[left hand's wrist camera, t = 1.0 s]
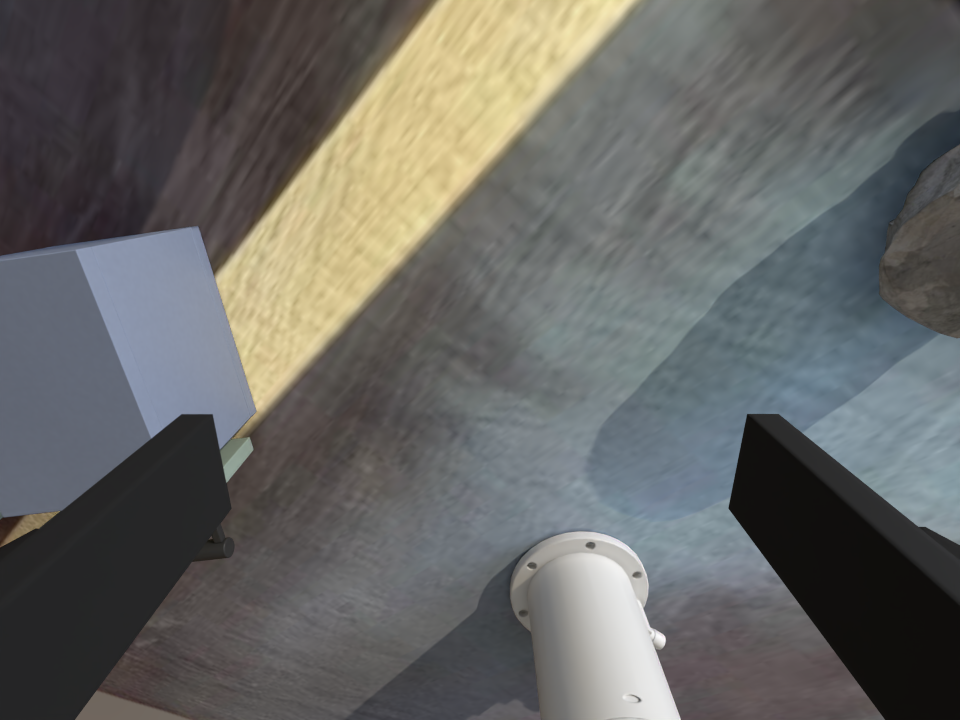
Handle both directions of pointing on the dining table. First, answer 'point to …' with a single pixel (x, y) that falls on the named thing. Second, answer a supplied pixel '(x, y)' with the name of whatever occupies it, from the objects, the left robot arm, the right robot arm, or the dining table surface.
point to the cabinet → (107, 360)
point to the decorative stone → (927, 250)
